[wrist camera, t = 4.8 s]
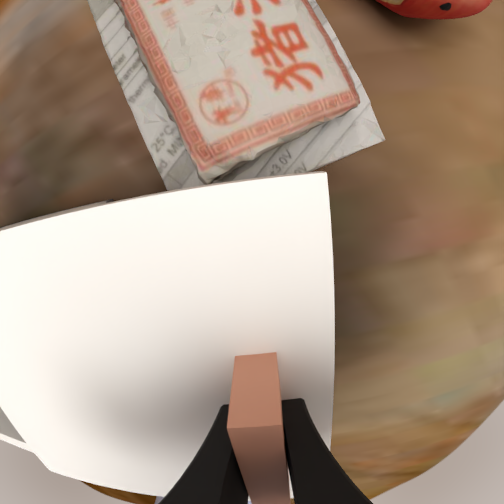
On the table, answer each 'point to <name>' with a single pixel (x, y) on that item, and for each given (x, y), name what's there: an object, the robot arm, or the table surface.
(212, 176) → the packaged product
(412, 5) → the apple
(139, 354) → the carton lid
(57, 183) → the table surface
